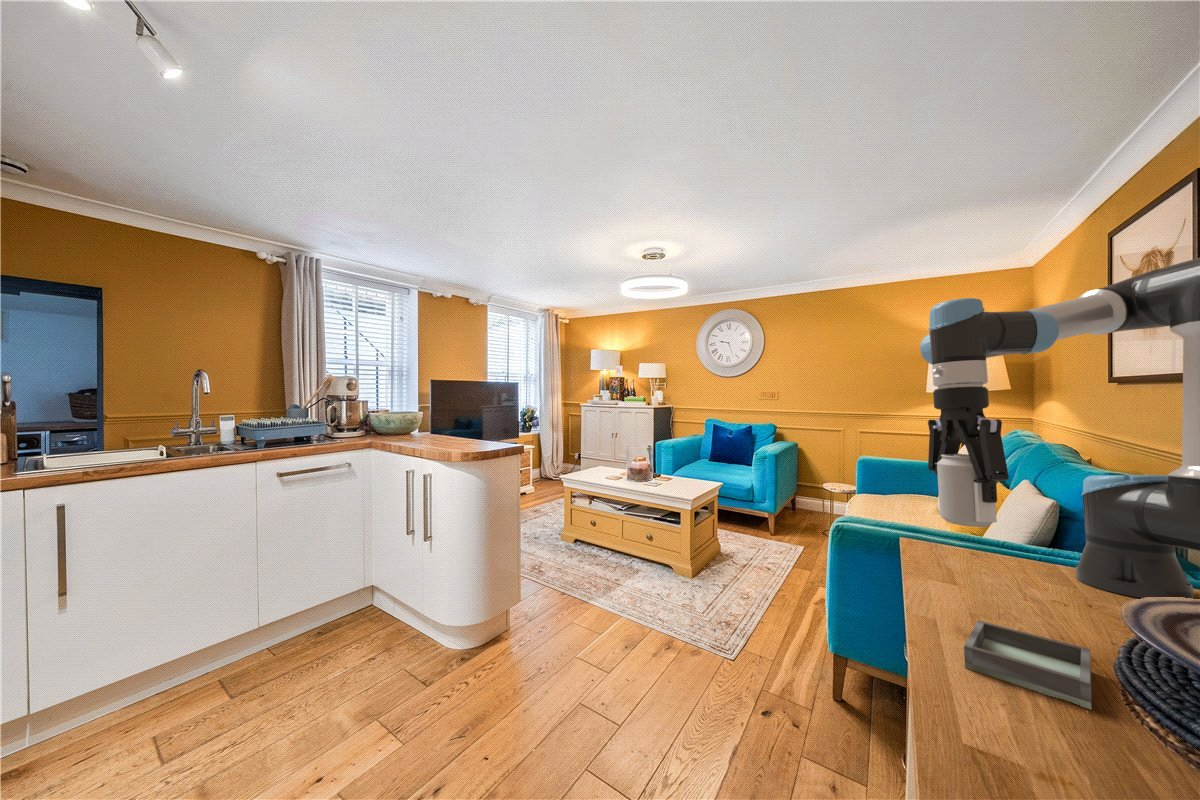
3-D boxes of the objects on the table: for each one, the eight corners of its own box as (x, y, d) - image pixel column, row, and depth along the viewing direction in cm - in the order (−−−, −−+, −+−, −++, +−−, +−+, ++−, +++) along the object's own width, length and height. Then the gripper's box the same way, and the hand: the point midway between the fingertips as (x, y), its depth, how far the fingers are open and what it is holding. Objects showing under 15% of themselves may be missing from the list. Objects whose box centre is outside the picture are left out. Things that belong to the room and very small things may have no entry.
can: (958, 527, 72) (954, 456, 73) (930, 517, 79) (927, 453, 80) (1008, 528, 71) (1003, 456, 72) (975, 518, 78) (971, 452, 79)
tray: (979, 639, 67) (978, 620, 67) (1091, 671, 59) (1089, 649, 59) (965, 667, 60) (964, 645, 60) (1091, 709, 51) (1090, 683, 51)
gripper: (901, 391, 87) (907, 505, 86) (984, 382, 67) (993, 531, 65) (940, 390, 86) (946, 504, 85) (1035, 381, 66) (1045, 531, 65)
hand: (966, 516), depth 75 cm, fingers closed on can, 7 cm apart
